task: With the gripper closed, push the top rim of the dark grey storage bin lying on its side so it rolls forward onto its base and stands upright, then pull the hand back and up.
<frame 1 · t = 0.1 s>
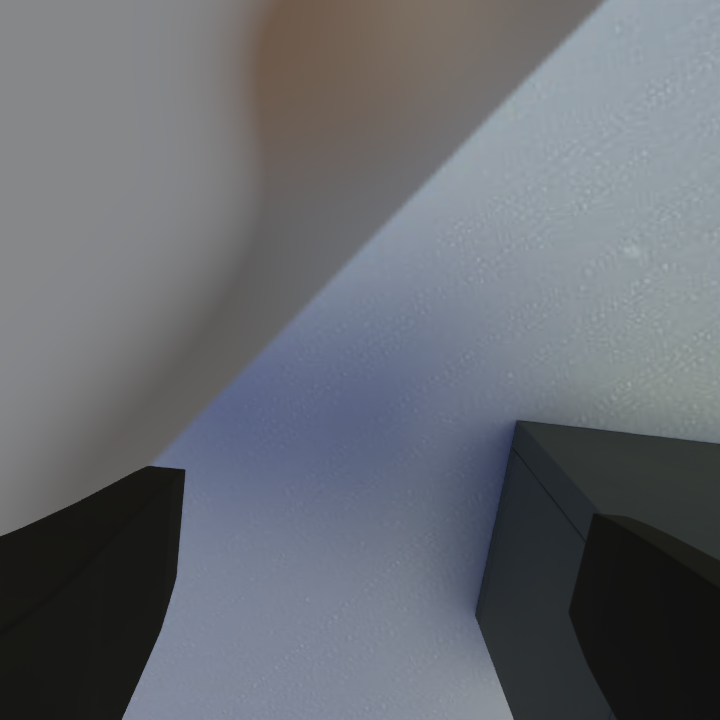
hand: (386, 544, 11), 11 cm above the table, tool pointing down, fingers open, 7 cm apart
dark grey storage bin: (649, 537, 24), on the table
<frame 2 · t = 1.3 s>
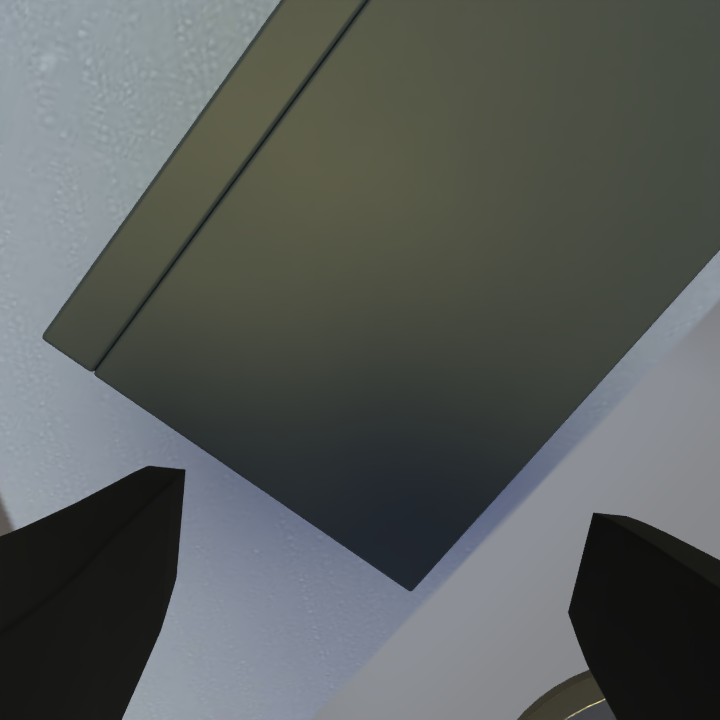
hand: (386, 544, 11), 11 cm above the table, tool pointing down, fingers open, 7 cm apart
dark grey storage bin: (391, 200, 20), on the table
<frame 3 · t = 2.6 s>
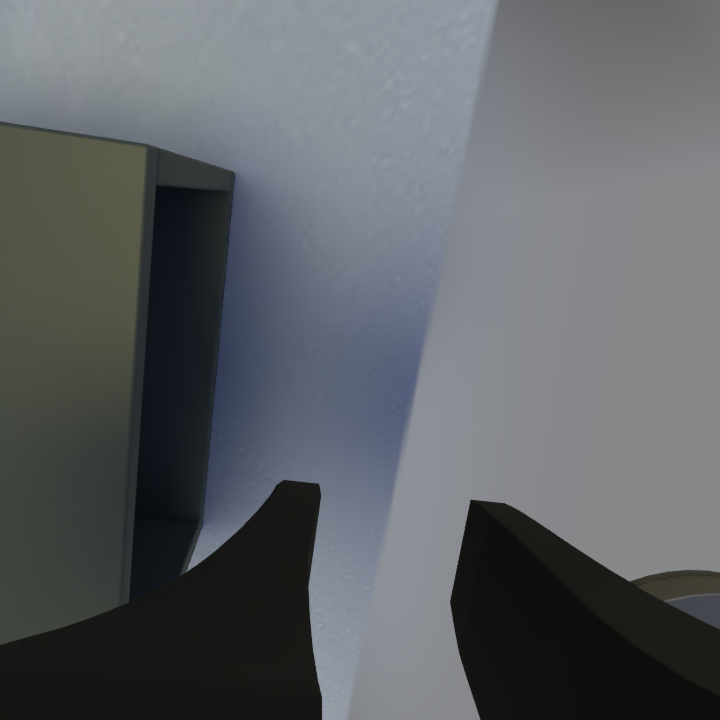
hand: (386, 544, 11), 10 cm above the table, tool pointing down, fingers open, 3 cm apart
dark grey storage bin: (91, 347, 20), on the table
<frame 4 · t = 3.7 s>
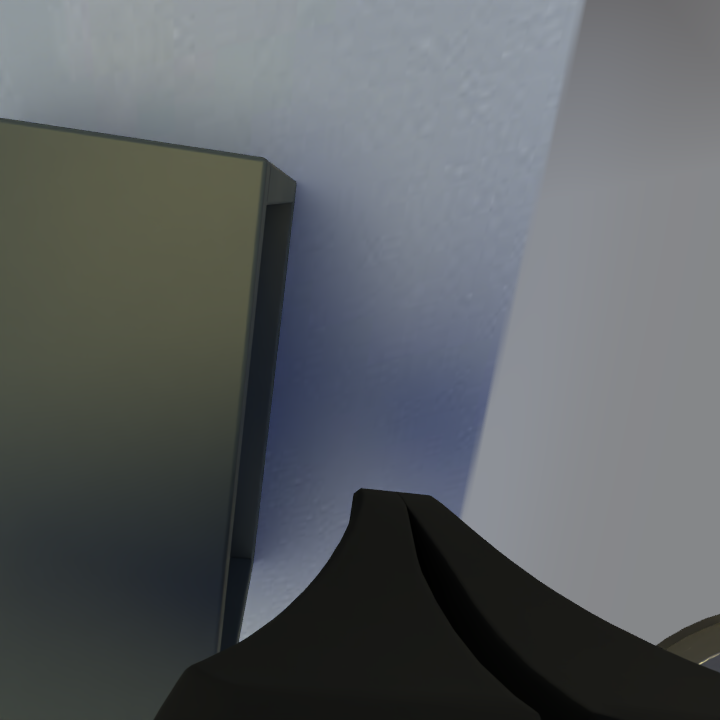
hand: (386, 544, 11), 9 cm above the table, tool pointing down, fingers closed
dark grey storage bin: (136, 371, 19), on the table
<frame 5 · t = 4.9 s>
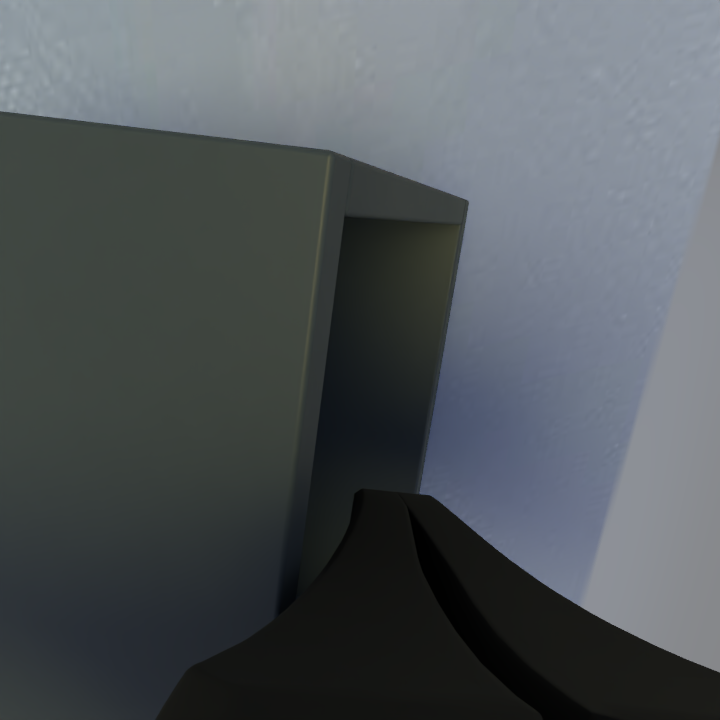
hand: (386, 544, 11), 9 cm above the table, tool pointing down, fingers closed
dark grey storage bin: (289, 401, 18), point 1 cm above the table, tilted 20°, touching gripper
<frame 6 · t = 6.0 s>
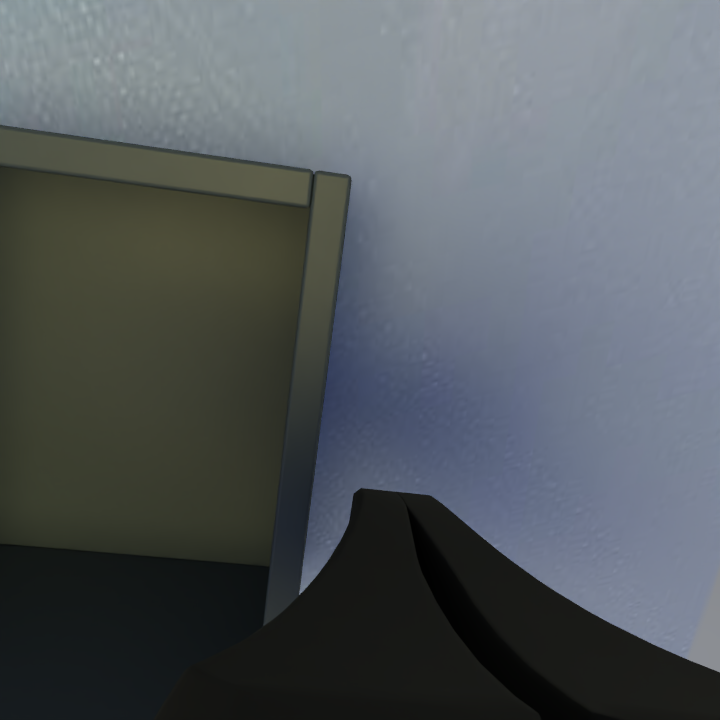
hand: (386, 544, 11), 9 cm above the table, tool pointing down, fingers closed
dark grey storage bin: (311, 439, 15), point 4 cm above the table, tilted 90°
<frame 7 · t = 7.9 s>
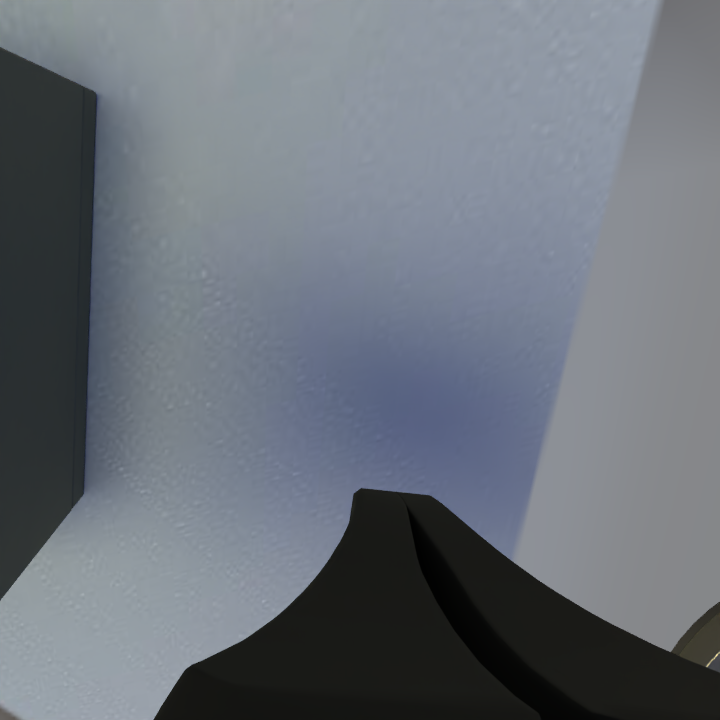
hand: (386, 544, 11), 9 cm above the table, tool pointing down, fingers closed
dark grey storage bin: (30, 338, 15), point 4 cm above the table, tilted 90°
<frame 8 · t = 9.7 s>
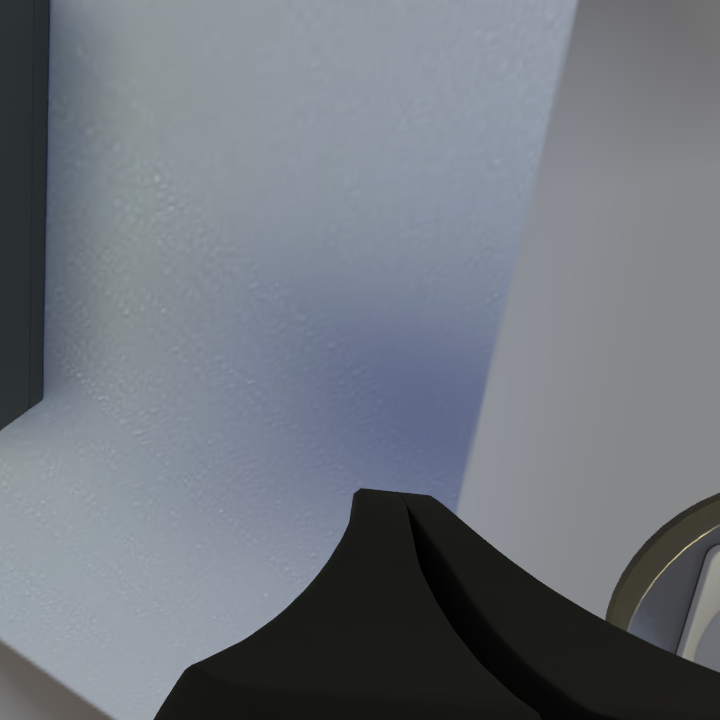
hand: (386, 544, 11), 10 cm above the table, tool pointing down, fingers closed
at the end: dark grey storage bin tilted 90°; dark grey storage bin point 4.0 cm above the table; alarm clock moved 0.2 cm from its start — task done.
